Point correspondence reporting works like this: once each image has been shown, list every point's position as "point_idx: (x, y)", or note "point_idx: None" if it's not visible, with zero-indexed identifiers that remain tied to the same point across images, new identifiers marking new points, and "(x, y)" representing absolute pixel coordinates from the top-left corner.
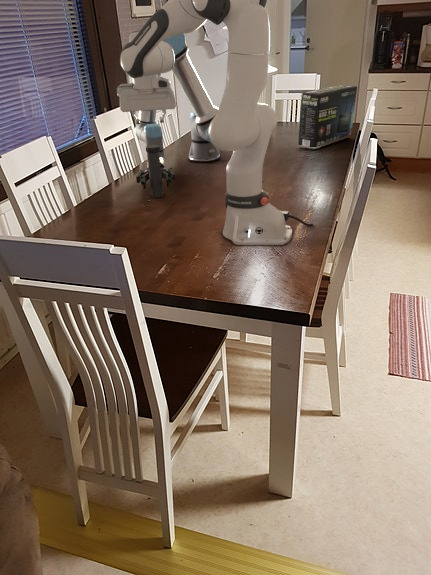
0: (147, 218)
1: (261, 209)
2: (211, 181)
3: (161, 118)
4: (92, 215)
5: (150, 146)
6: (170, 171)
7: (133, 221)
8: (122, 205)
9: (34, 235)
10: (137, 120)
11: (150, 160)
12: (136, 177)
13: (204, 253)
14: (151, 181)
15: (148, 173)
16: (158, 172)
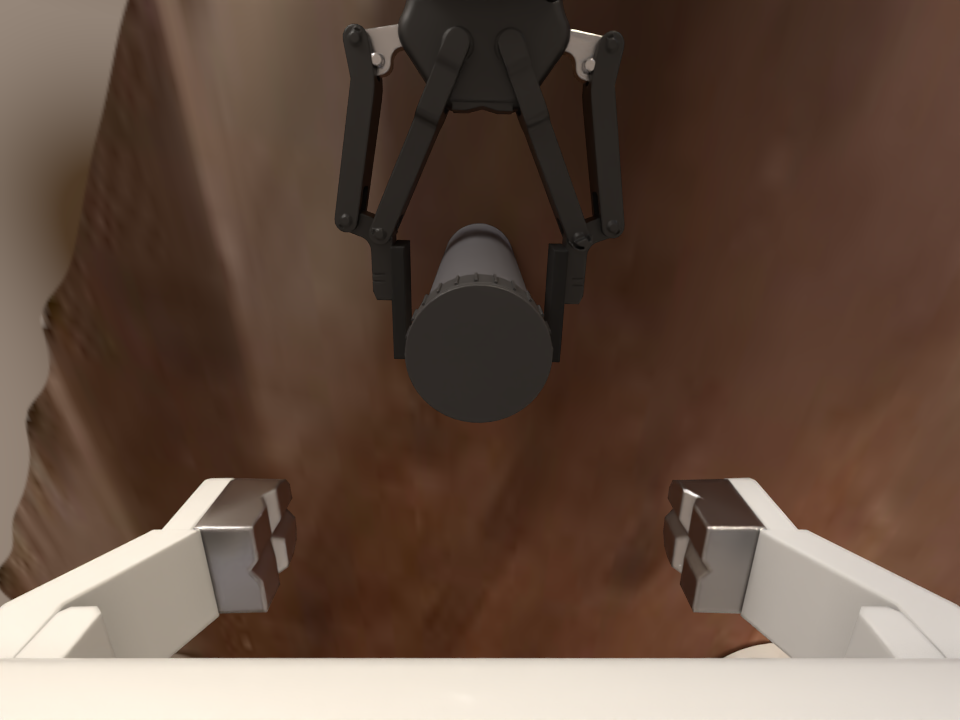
0: (430, 532)
1: None
2: (864, 47)
3: (724, 603)
4: (175, 457)
5: (457, 356)
6: (597, 147)
7: (373, 548)
8: (295, 365)
9: (7, 595)
10: (233, 595)
11: None
12: (339, 227)
13: None
14: None
15: (424, 157)
16: None
